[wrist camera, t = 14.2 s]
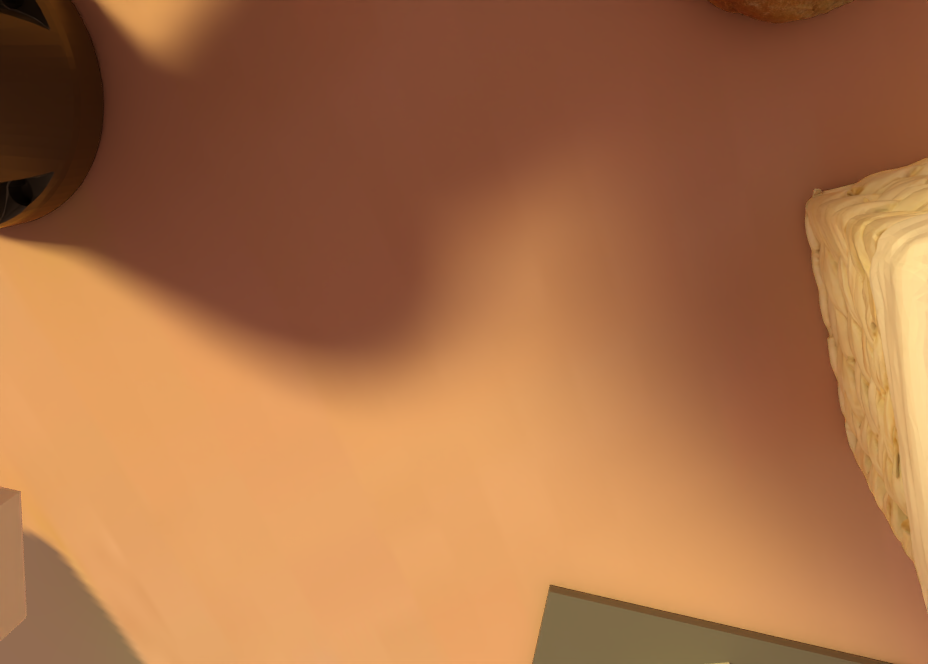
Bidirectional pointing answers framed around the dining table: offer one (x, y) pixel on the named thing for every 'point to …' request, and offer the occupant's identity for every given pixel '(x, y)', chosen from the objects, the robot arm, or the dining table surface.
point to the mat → (658, 637)
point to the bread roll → (779, 8)
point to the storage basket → (880, 335)
